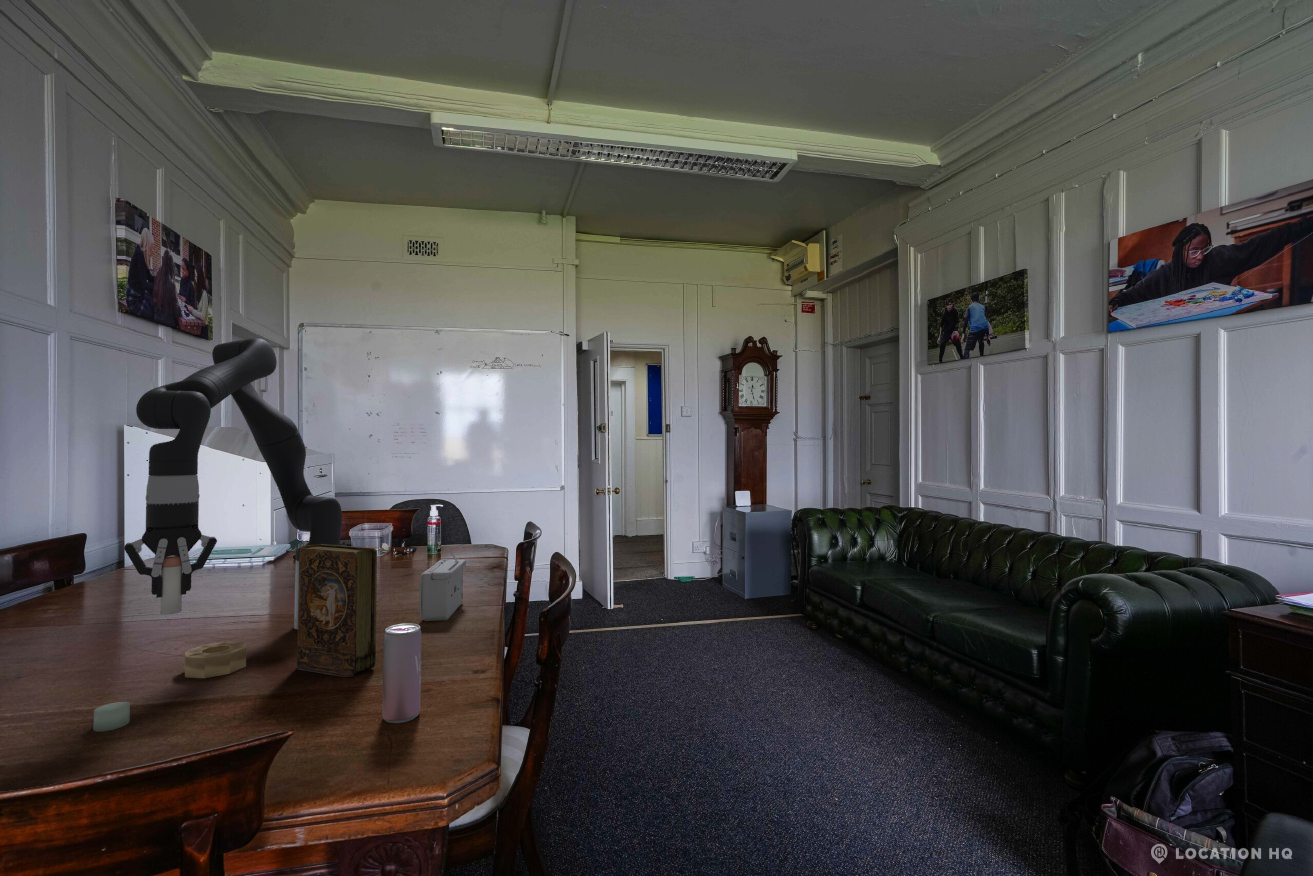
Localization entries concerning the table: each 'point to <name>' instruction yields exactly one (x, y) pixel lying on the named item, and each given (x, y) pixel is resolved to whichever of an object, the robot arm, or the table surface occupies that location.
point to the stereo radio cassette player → (441, 589)
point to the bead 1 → (111, 716)
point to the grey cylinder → (171, 585)
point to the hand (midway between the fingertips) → (171, 594)
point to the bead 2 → (215, 659)
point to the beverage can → (401, 673)
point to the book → (337, 609)
